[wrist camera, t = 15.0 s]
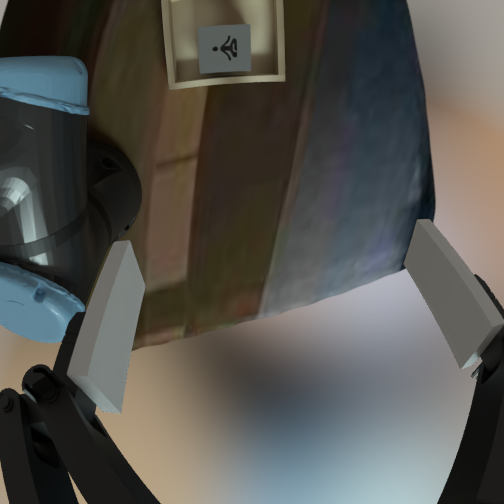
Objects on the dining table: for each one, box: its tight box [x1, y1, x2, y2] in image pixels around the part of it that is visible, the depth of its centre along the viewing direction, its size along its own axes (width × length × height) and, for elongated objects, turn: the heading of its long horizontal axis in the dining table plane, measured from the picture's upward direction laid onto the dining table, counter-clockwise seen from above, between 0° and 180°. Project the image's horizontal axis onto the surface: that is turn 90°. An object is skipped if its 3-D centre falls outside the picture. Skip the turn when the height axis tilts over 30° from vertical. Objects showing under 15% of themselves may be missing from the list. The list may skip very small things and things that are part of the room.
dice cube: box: [198, 24, 251, 74], centre depth 27 cm, size 5×5×5 cm
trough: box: [161, 0, 285, 90], centre depth 27 cm, size 12×11×3 cm
